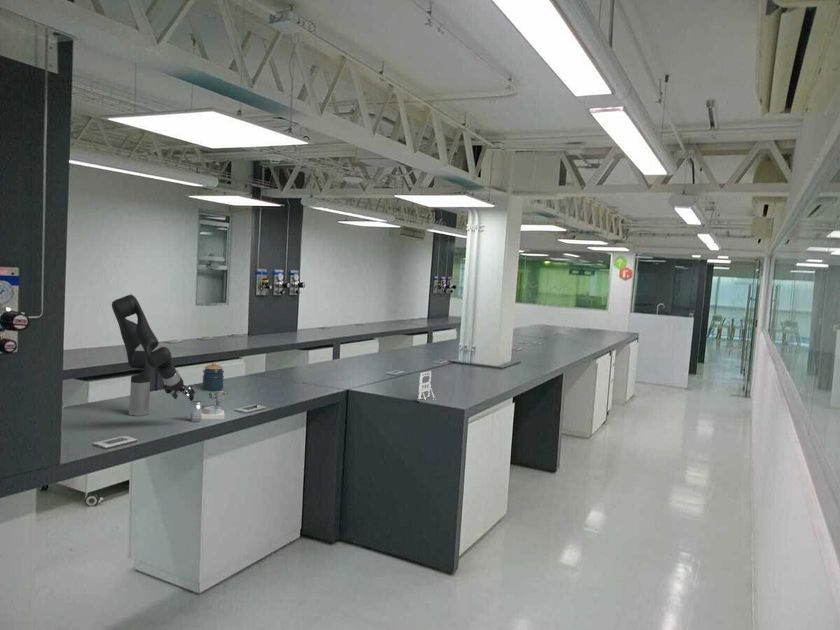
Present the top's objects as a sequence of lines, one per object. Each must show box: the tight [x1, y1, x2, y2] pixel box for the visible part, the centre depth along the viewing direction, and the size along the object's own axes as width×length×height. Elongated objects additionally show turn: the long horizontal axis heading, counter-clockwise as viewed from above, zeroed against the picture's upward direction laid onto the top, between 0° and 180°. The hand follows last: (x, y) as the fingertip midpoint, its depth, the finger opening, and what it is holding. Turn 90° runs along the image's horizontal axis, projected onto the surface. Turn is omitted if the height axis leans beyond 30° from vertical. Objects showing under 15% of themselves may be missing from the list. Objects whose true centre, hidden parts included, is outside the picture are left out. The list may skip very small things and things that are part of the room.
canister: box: [201, 361, 225, 392], centre depth 391 cm, size 13×13×18 cm
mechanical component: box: [208, 390, 228, 407], centre depth 338 cm, size 3×10×10 cm, turn 134°
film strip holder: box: [417, 370, 435, 400], centre depth 397 cm, size 14×14×20 cm
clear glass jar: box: [190, 400, 203, 423], centre depth 309 cm, size 5×5×10 cm
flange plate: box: [201, 405, 226, 420], centre depth 322 cm, size 12×12×4 cm
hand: (184, 398), depth 298 cm, fingers open, 8 cm apart
